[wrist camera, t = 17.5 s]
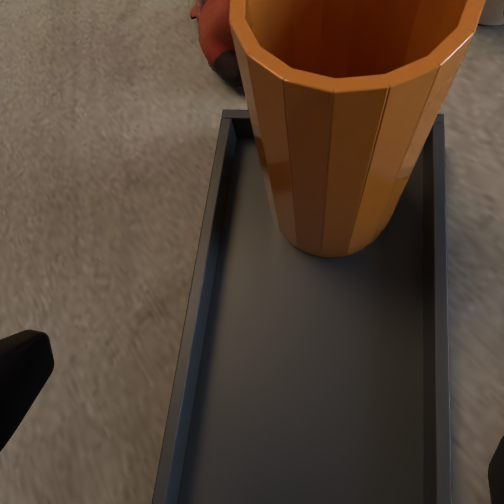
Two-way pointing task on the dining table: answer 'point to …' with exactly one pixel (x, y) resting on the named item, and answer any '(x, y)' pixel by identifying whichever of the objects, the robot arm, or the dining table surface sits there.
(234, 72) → the stuffed fox
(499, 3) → the cup
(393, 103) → the tumbler
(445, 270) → the tray
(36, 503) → the dining table surface
